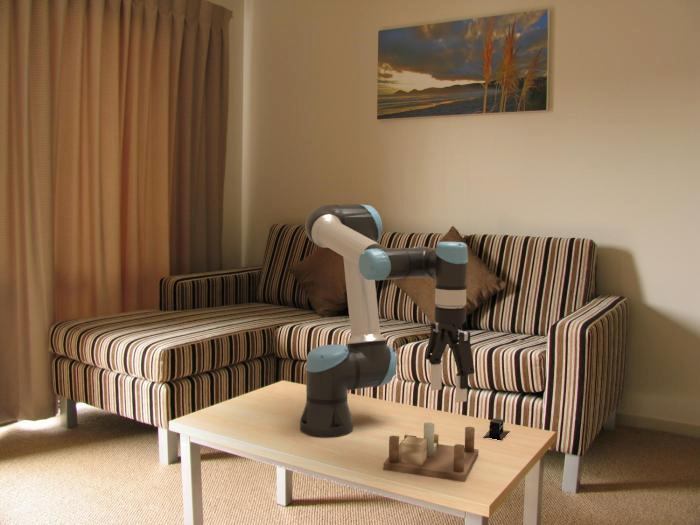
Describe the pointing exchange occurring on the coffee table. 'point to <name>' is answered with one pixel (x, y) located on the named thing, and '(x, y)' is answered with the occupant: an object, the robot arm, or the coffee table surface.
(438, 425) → the coffee table surface
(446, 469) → the stool board
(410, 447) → the maple block
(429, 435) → the gate leg
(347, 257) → the robot arm
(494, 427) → the black bracket plate
